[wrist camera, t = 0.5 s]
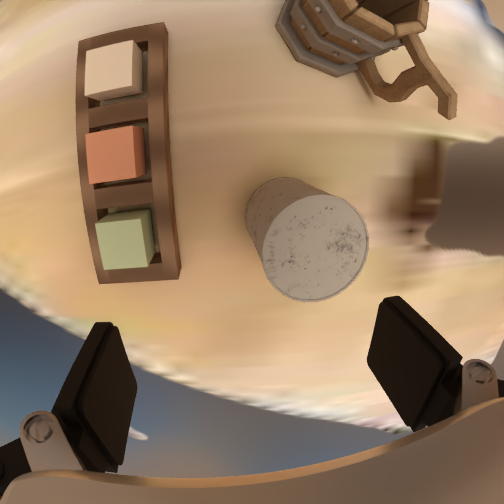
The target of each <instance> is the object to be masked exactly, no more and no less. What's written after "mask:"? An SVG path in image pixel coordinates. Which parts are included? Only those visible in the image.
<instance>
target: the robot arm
mask: <svg viewBox="0 0 504 504" xmlns="http://www.w3.org/2000/svg"><path fill="white" fill-rule="evenodd" d="M462 358H463V357H462V356H461V355H460V354H459V353H458V352H457V351H456V350H455V349H454V348H453V347H452V346H451V345H450V344H449V343H448V342H447V341H446V340H445V339H444V338H443V337H442V336H441V335H440V334H439V333H438V332H437V331H436V330H435V329H434V328H433V327H432V326H431V325H430V324H429V323H428V322H427V321H426V320H425V319H424V318H423V317H421V316H420V315H419V314H418V313H417V312H416V311H415V310H414V309H413V308H412V307H411V306H410V305H409V304H408V303H407V302H405V301H404V300H403V299H402V298H401V297H400V296H393V297H387V298H384V299H383V301H382V302H381V303H380V304H379V308H378V313H377V318H376V322H375V327H374V331H373V336H372V340H371V344H370V348H369V352H368V356H367V363H368V366H369V368H370V369H371V371H372V372H373V374H374V375H375V377H376V379H377V380H378V382H379V383H380V385H381V386H382V388H383V389H384V391H385V393H386V394H387V396H388V397H389V399H390V401H391V402H392V404H393V405H394V407H395V408H396V410H397V412H398V413H399V415H400V417H401V418H402V420H403V421H404V423H405V424H406V425H407V426H410V427H411V429H412V430H413V432H415V433H413V434H411V435H408V436H406V437H403V438H401V439H398V440H395V441H393V442H390V443H387V444H385V445H382V446H378V447H375V448H373V449H369V450H366V451H363V452H360V453H356V454H353V455H350V456H346V457H342V458H339V459H335V460H331V461H327V462H323V463H318V464H314V465H309V466H304V467H299V468H294V469H288V470H282V471H277V472H269V473H262V474H254V475H244V476H233V477H220V478H219V477H218V478H157V477H156V478H155V477H139V476H127V475H118V474H109V473H105V471H107V472H114V473H117V470H118V465H122V463H123V460H124V454H125V448H126V443H127V437H128V432H129V427H130V421H131V416H132V412H133V407H134V402H135V397H136V393H137V382H136V379H135V377H134V374H133V372H132V369H131V366H130V363H129V360H128V357H127V354H126V351H125V348H124V345H123V342H122V339H121V336H120V332H119V329H118V327H117V326H113V324H112V323H111V322H96V323H95V324H94V326H93V327H92V329H91V331H90V333H89V335H88V337H87V339H86V340H85V342H84V344H83V346H82V348H81V350H80V352H79V354H78V356H77V358H76V360H75V362H74V363H73V365H72V368H71V370H70V372H69V374H68V376H67V378H66V380H65V382H64V384H63V386H62V389H61V391H60V393H59V395H58V397H57V399H56V402H55V404H54V406H53V409H52V411H51V413H50V412H48V411H36V412H33V413H31V414H29V415H28V416H26V417H25V418H24V419H23V421H22V423H21V425H20V429H19V434H20V438H18V439H16V440H14V441H12V442H10V443H8V444H6V445H4V446H2V447H0V504H504V381H503V380H499V379H497V375H496V371H495V370H494V368H493V367H492V366H491V365H490V364H489V363H487V362H485V361H483V360H480V359H471V360H468V361H466V362H465V363H464V365H463V366H462V365H461V364H460V362H461V360H462ZM426 426H428V427H427V428H425V427H426ZM423 428H425V429H423ZM421 429H422V430H421ZM419 430H420V431H419ZM416 431H418V432H416Z"/></svg>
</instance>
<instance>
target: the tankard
mask: <svg viewBox="0 0 504 504" xmlns="http://www.w3.org/2000/svg"><path fill="white" fill-rule="evenodd" d="M427 1H428V0H286V1H285V3H284V6H283V9H282V11H281V14H280V16H279V19H278V22H277V24H276V28H277V30H278V31H279V33H280V34H281V36H282V37H283V39H284V41H285V42H286V44H287V45H288V47H289V49H290V50H291V52H292V54H293V55H294V57H295V59H296V60H297V61H298V62H301V63H303V64H306V65H308V66H311V67H313V68H316V69H318V70H321V71H323V72H325V73H328V74H330V75H332V76H335V77H339V76H342V75H344V74H347V73H350V72H353V71H356V70H359V69H361V71H362V74H363V76H364V78H365V80H366V81H367V83H368V84H369V86H370V88H371V90H372V91H373V93H374V94H375V95H377V96H379V97H380V98H382V99H384V100H386V101H388V102H401V101H403V100H406V99H407V98H408V97H409V96H410V95H411V94H412V93H413V92H414V91H415V90H416V89H417V88H419V87H422V86H425V85H428V86H429V87H430V88H431V90H432V91H433V92H434V93H435V94H436V96H437V97H438V113H439V114H441V115H442V116H444V117H445V118H446V119H448V120H451V119H453V118H455V117H456V111H457V93H456V92H455V91H454V89H453V88H452V87H451V85H450V84H449V83H448V82H447V80H446V79H445V78H444V77H443V75H442V74H441V73H440V71H439V70H438V69H437V67H436V66H435V65H434V63H433V62H432V61H431V59H430V58H429V56H428V54H427V52H426V50H425V47H424V45H423V43H422V41H421V39H420V37H419V35H418V33H421V32H424V31H425V30H426V27H427V19H428V11H429V2H427ZM404 45H405V47H406V49H407V51H408V53H409V55H410V56H411V58H412V60H413V62H414V64H415V66H414V67H412V68H410V69H407V70H405V71H403V72H401V74H400V75H399V76H398V77H397V79H396V80H395V81H394V82H393V84H389V83H386V82H384V80H383V79H382V78H381V76H380V75H379V73H378V70H377V68H376V65H375V63H374V60H375V57H376V56H379V55H382V54H384V53H387V52H389V51H390V49H392V50H397V49H398V47H400V46H404Z"/></svg>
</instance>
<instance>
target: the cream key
mask: <svg viewBox="0 0 504 504" xmlns="http://www.w3.org/2000/svg"><path fill="white" fill-rule="evenodd" d="M142 78H143V52H142V51H141V50H140V48H139V47H138V46H137V45H136V43H135V42H134V41H133V40H130V41H125V42H121V43H116V44H112V45H108V46H104V47H100V48H96V49H92V50H89V51H86V65H85V96H87V97H90V98H93V99H96V100H98V101H104V100H108V99H113V98H118V97H124V96H129V95H135V94H141V93H143V86H142Z"/></svg>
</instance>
